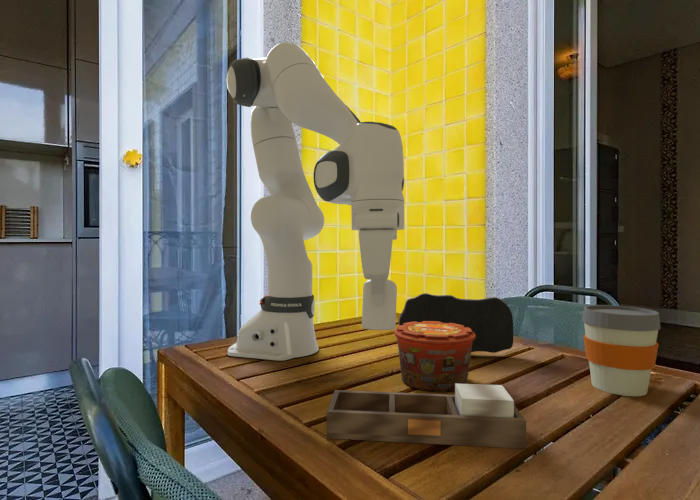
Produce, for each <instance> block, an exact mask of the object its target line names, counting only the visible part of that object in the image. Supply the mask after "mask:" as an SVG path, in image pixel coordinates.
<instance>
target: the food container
mask: <svg viewBox="0 0 700 500" xmlns="http://www.w3.org/2000/svg"><path fill="white" fill-rule="evenodd" d="M393 330H394V331H393V334H394V335H395V338H396V340H397V348H398V349H397V350H398V358H399V359H398V360H399V367H400V374H401V379H402V382H403V383H404V384H405V383H406V384H405V385H406V386H408V385H410V386H412V387H411V388H413V387H414V388H413V389H416V390H420V391H426V392H431V391H434V392H433V393H445V391H449V392H455V391H454V390H455V383H457V384H468V377H469V371H470V363H471V357H472V356H471V355H472V352H471V349H472V342H473V340H475V339H476V335H475V333H474V332H472V330H471V329H470V328H469V327H465V326H464V325H460V324H455V323H441V322H439V321H423V322H416V321H415V322H407V323H403V325H399V324H398V326H397V327H395V329H393ZM410 386H409V387H410ZM435 391H436V392H435ZM437 391H438V392H437ZM443 391H444V392H443Z"/></svg>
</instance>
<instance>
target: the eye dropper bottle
mask: <svg viewBox="0 0 700 500" xmlns="http://www.w3.org/2000/svg"><path fill="white" fill-rule="evenodd" d="M397 287H398V286H397V284H396V282H395V281H393V280H390V279H388V278H387V279H384V303H383V304H382V305H374V304H373V301H372V288H371V279H366V281H365V282H364V283H363V287H362V305H361V306H362V309H361V326H362V328H363V329H365V330H371V331H393V330H395V329H396V328H397V327H396V326H397V324H396V323H397V298H398V297H397V295H398V293H397V292H398V288H397Z"/></svg>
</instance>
